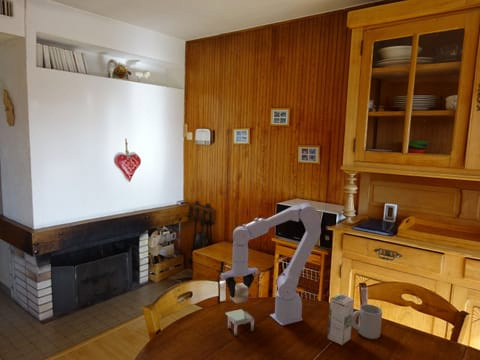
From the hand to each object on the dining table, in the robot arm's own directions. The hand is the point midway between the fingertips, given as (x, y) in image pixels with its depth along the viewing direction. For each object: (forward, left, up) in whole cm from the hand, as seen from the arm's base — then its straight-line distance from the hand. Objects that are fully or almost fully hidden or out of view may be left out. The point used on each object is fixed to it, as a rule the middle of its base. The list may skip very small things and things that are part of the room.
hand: (238, 295), depth 130 cm
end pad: (0, -1, -8) cm, 8 cm away
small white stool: (+3, +8, -8) cm, 12 cm away
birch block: (0, 0, -2) cm, 2 cm away
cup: (-35, +28, -9) cm, 46 cm away
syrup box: (-24, +27, -9) cm, 37 cm away
